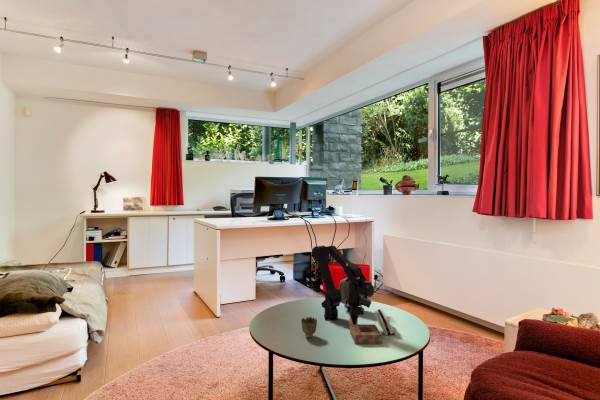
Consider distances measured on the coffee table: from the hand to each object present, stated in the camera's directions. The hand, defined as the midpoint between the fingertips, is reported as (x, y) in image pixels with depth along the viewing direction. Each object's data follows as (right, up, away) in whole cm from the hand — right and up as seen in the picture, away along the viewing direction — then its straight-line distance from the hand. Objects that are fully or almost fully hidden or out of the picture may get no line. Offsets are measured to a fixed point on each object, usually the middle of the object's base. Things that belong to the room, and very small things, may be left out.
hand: (353, 323), depth 171 cm
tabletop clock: (+3, -2, +24) cm, 24 cm away
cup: (-23, -2, -12) cm, 26 cm away
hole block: (+4, -2, -13) cm, 13 cm away
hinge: (+15, -3, -1) cm, 15 cm away
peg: (0, -2, 0) cm, 2 cm away
